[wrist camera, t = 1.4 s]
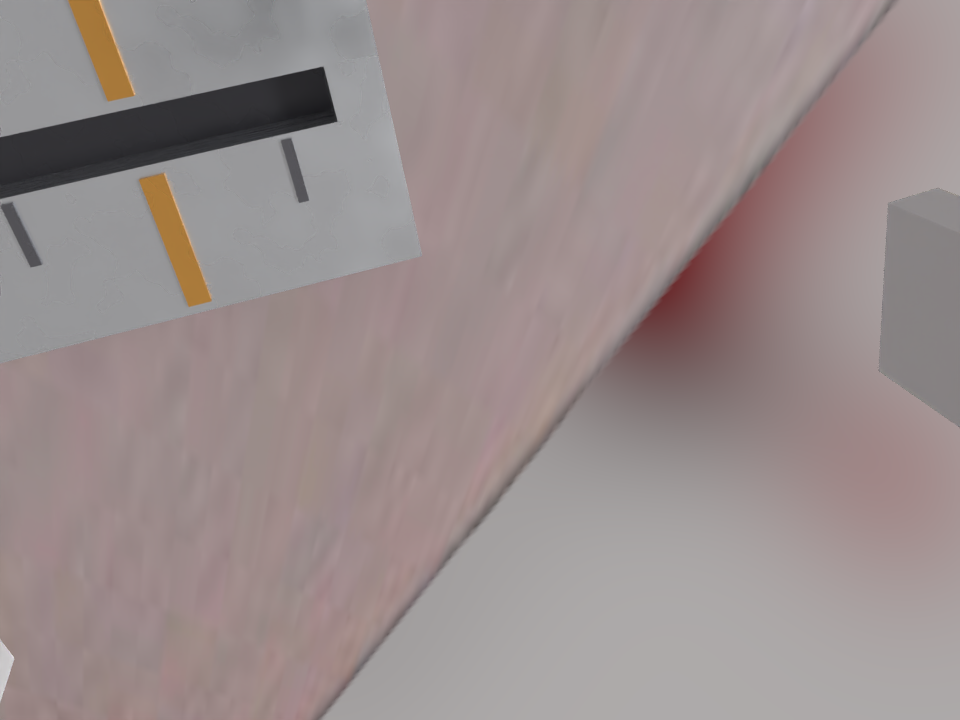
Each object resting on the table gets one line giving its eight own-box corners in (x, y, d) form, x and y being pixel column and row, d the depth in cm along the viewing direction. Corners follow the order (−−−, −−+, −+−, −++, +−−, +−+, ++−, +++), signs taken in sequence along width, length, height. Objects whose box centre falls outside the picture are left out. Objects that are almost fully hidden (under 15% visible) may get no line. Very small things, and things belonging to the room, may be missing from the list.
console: (-567, 34, 25) (-649, 45, 22) (329, -133, 28) (336, -139, 26) (-276, 408, 32) (-316, 445, 29) (411, 236, 35) (423, 257, 33)
